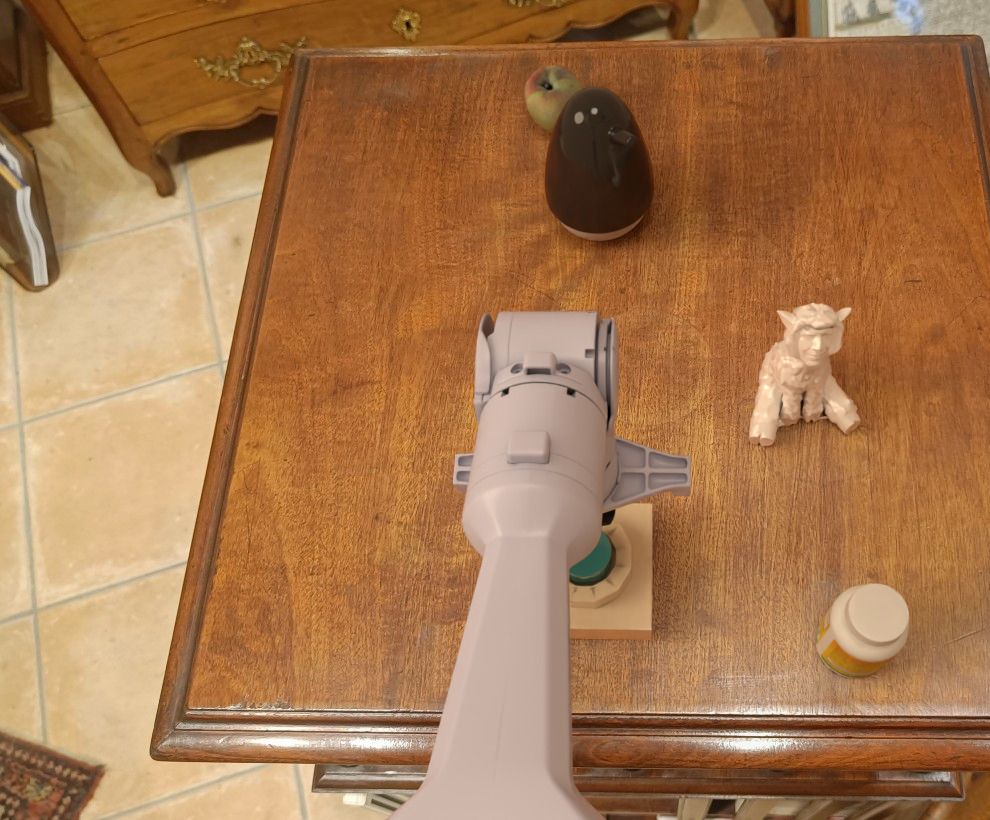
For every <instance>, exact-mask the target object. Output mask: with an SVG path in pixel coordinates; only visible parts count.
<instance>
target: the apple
mask: <svg viewBox="0 0 990 820" xmlns="http://www.w3.org/2000/svg"><path fill="white" fill-rule="evenodd" d="M584 88H585V87H584V86H583V84H582V82H581V81H580V79H579V77H578V76H577V75H576V74H575V73H574V72H573V71H571V70H570V69H569V68H567V67H565V66H563V65H560V64H556V65H555V64H554V65H553V64H552V65H550V64H549V65H542V66H541V67H538V69H536V70H535V71H534V72H533V73H532V74H531V75H530V76H529V78H528V79H527V80H526V82H525V85H524V91H523V95H524V101H525V106H526V109H527V112H528V113H529V115H530V117H531V119H532V121H533V122H534V123H535V124H536V125H537V126H539V127H541V128H542V129H544V130H545V131H547V132H548V133H550V134H552V131H553V128H554V125H555V123H556V120H557V118H558V116H559V114H560V112H561V110H562V108H563V107H564V105H565V104H566V102H567V101H568V100H569V99H570V98H571V97H572V96H573V95H574V94H575V93H576V92H578V91H579V90H581V89H584Z"/></svg>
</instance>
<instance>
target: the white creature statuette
mask: <svg viewBox="0 0 990 820" xmlns="http://www.w3.org/2000/svg"><path fill="white" fill-rule="evenodd" d="M775 312H776V313H777V314H778V316H779V319H780V321H781V323H782V324H783V326H784V327H785V330H784V333H783V338H782V340H781V341H776V342H775V343H774V345H771V348H770V350H769V351H766V353H765V356H764V358H763V359H764V360H763V361H762V362H761V363H762V364H761V368H760V369H759V372H758V380H757V384H758V385H759V386H758V387H757V392H756V395H755V397H754V404H755V407H754V409H753V410H752V413H751V417H750V420H749V424H750V425H749V432H748V441H749V443H750V444H752V445H755V446H758V445H760V446H761V447H769V446H772V445H773V444H774V443H775V440H776V438H777V431H778V429H779V428H782V427H785V426H786V427H790V426H791V425H792V424H793V426H795V425H796V424H797V423H798V422H799V420H801V419H803V420H804V421H805V422H806V423H808V424H809V423H810V422H811V421H812V423H813V424H814V423H816V422H817V421H823V420H828V421H830V422H831V423H833V424H836V426H837V427H838V428H839V430H841V432H843V433H844V435H849V434H850V433H853V432H854V431H855V430H856V429H857V428H858V427H859V426H860V425H861V423H862V419H861V417H860V415H859V414H858V413H857V411H858V406H856V404H854V400H853V399H852V398H850V397H849V396H848V395H847V393H846V392H845V391H843V389H842V388H841V386H840V385H839V384H838V382H837V379H836V378H835V377H834V376H833V374H832V373H833V369H832V364H831V362H832V361H831V358H830V357H831V356H832V355H834V354H836V353H838V352H839V351H840V350H841V349H842V348H843V337H842V336H843V333H844V330H845V323H844V322H843V321H844V320H845V319H846V318H847V317H848V316H849V315H850V314H851V312H852V307H850V306H847V307H843V308H840V309H838V310H837V311H835V310H834V308H833V307H832V306H829V305H828V304H825V303H822V302H821V303H816V302H811V303H809V304H804V305H799V306H797V307H795V308H794V309H793V311H792V312H791V311H789V310H788V311H787V310H783V309H781V310H780V309H778V310H775ZM802 401H803V406H802ZM801 406H802V408H801ZM823 412H824V414H825V415H824V416H821V415H822V413H823Z"/></svg>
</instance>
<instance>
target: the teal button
mask: <svg viewBox="0 0 990 820" xmlns="http://www.w3.org/2000/svg"><path fill="white" fill-rule="evenodd" d="M611 563H612V549H611V543H610V541H609V539H608V537H607V535H606V534H605V533H604V532H603V531H602V530H601V536H600V539H599V542H598V544H597V545H596V547H595V548H594V549H593V551H592V552H591V553H590V554H589V555H588V556H586V557H585V558H584V559H583V560H581V561H580V562H578V563H577V564H575V565H573V566H572V567H571V568H570V570H569V579H571V580H573V581H575V582H578V583H592V582H595V581H597V580H599V579H601V578H602V577H603V576H604V575H605V574H606V573H607V572H608V570H609V569H610V566H611Z"/></svg>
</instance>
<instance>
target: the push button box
mask: <svg viewBox="0 0 990 820" xmlns="http://www.w3.org/2000/svg"><path fill="white" fill-rule="evenodd" d="M653 505H654V504H653V503H651V502H650V503H648V502H647V503H646V502H644V503H642V502H635V503H632V504H629V505H626V506H623V507H620V508H617V509H616V511H615V516H614V519H613V521H612V523H611V524H610V525H606V526H602V529H601V530H602V531H603V532H604V533H605V534H606V535H607V537H608V539H609V541H610V543H611V549H612V563H611V566H610V569H609V570H608V572H607V573H606V574H605V575H604V576H603V577H602V578H601V579H599V580H597V581H595V582H592V583H578V582H575V581H573V580H571V579H569V586H570V640H574V639H576V640H625V641H628V640H629V641H652V640H653V537H654V536H653V528H654V527H653V520H654V519H653V516H654V514H653V512H654V510H653V509H654V508H653Z"/></svg>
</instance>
